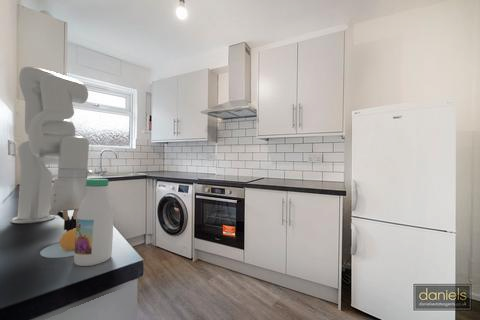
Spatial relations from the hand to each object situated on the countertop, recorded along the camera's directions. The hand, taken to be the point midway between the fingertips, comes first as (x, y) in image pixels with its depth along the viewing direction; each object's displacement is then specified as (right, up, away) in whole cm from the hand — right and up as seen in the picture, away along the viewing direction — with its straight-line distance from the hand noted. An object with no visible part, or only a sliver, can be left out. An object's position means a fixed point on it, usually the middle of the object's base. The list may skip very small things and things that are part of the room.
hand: (69, 231), depth 69 cm
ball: (+9, +1, -10) cm, 14 cm away
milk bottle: (+18, -2, -16) cm, 24 cm away
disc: (+8, -2, -9) cm, 12 cm away
